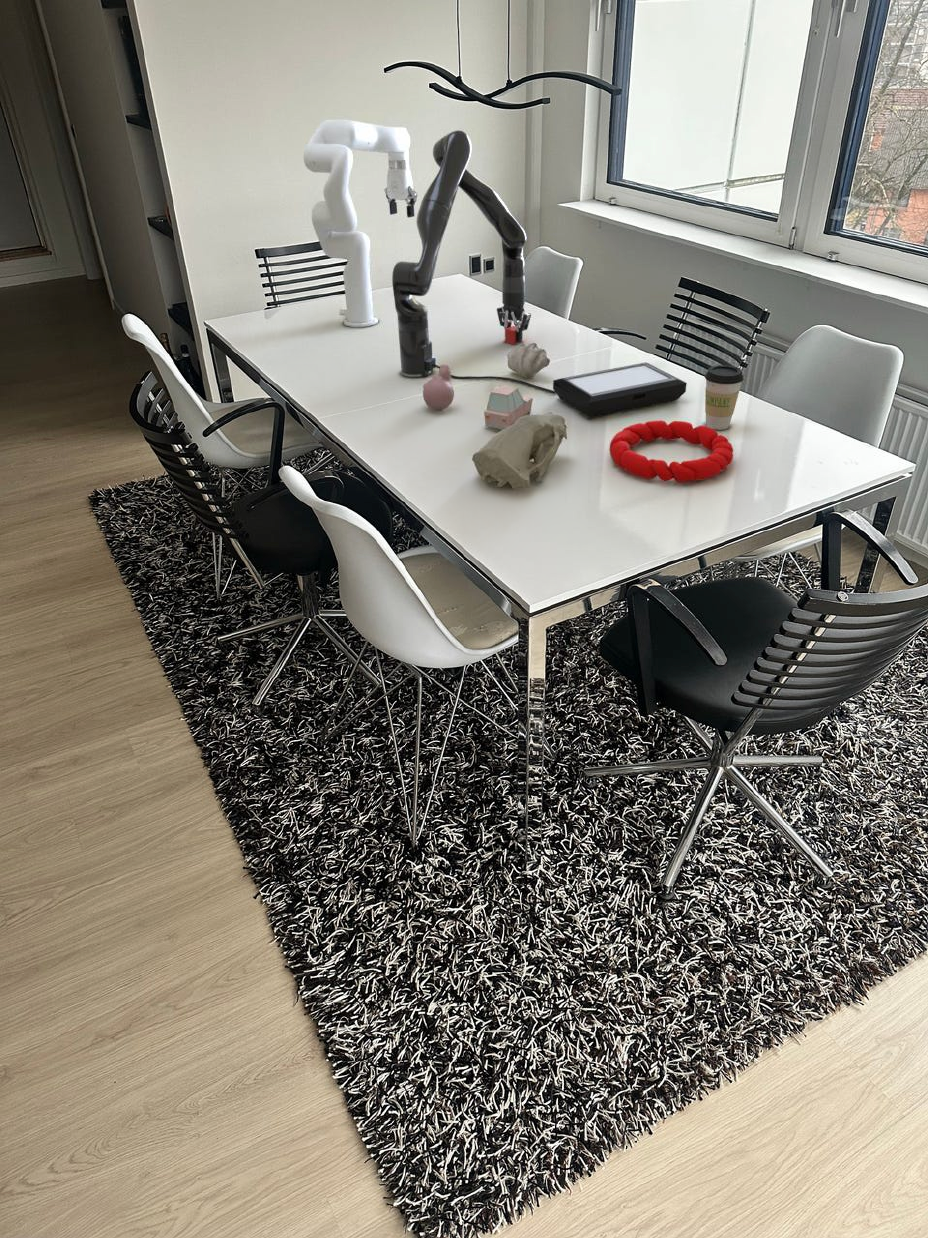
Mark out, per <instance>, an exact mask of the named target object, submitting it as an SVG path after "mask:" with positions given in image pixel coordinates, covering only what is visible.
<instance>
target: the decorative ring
mask: <svg viewBox="0 0 928 1238" xmlns="http://www.w3.org/2000/svg"><path fill="white" fill-rule="evenodd" d="M657 439H662V440H665V441H672V440H678V439H682V440H683V441H685V442H687V443H689V444H692V445H702V447H703V448H704V449H707V450H709V451H710V452H712V453H710V454H709V455H707V456H706V457H702V458H698V459H692V460H691V459H690V460H683V461H681V462H680V463H679V462H678V461H675V460H674V461H671V462H670V463H669V465H668V463H667V461H665V460H663V459H654V458H652V459H648V458H647V456H646V455H642V454H639V453H638V452H637V451H634V450H631V447H634V446H636V445H638V444H639V443H641V441H642V442H652V441H654V440H657ZM733 453H734V448H733V445H732V444H731V442H729V439H728V438H727V437H726V436H725V435H722V434H719V432H718V431H717V430H716V429H711V428H709V427H707V426H706V425H697V426H696V427H693V424H692V423H691V422H688V421H682V420H673V421H671V422H669V424H668V423H667V422H666V421H665V420H659V419H658V420H649V421H646V422H645V423H642V422H639V423H638V422H637V423H634V424H631V425H629V426H627V427H624V428H623V429H622V430H620V431H618V432H617V433H615V434H614V436H613V437H612V438H611V441H610V443H609V454H610V458H611V460H612V461H613V462H614V464H615V465H616V466H618V467H619V468H620V469H621V470H624V471H626V472H627V473H628V474H631V475H633V476H636V477H639V478H642V479H646V480H652V479H655V478H656V477H658V479H660V480H661V481H662V482H669V481H670V480H674V481H675V483H690V482H691V483H692V482H696V481H698V480H700V481H703V480H704V481H705V480H707V479H711V478H713V477H715V476H718V475H719V474H720V473H721V472H723V471H725V470H726V469H727V468H728V466H729V465H731V464H732V462H733V459H734V454H733Z"/></svg>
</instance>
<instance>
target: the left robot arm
mask: <svg viewBox="0 0 928 1238" xmlns="http://www.w3.org/2000/svg"><path fill="white" fill-rule="evenodd" d="M410 147H411V137H410V134H409V133H408V130H407V128H406V127H404V126H385V125H380V124H375V123H368V122H362V121H357V120H351V119H336V118H335V119H334V118H333V119H330V118H329V119H324V120H323V121H322V122H321V123H320V124H319V125H318V126H317V128H316V129H315V131H314V132H313V134H312V136H311V137H310V139H309V141H308V142H307V143H306V145H305V148H304V151H303V163H304V166H305V167H306V169H307V170H309V171H310V172H313V173H321V174H329V175H328V177H327V179H326V182H325V184H324V186H323V190H322V193H323V199H324V200H320V201H317V202H316V203H315V204H314V205H313V207H312V210H311V222H312V225H313V229H314V231H315V234H316V237H317V239H318V242H319V245H320V247H321V249H322V251H323V253H324V255H326V257H328V258H331V259H339V260H347V263H346V264H345V266H344V269H343V274H342V275H343V276H342V277H343V285H344V296H345V305H346V306H345V308H342V307H341V308H340V309H339V313H338V314H339V316H344V319H343V324H344V325H345V326H347V327H351V328H366V327H371V326H374V325H376V324H378V322H379V317H377V316H376V315H374V306H373V305H374V304H373V295H372V281H371V271H370V269H371V268H370V257H371V256H370V255H371V240H370V237H369V236H368V234H366V233H365V232H363V231H360V230H356V229H357V227H358V216H357V212H356V210H355V206H354V203H353V200H352V197H351V195H350V191H349V180H350V176H351V172H352V168H353V165H354V155H353V152H352V150H355V151H362V152H376V153H382V154H387V159H388V163H387V164H388V169H387V173H386V174H387V175H386V187H385V189H383V190H384V194H385V197H386V199H387V203H388V204H389V215H392V216H393V215H396V214H398V205H397V203H398V202H397V201H405V203H406V217H407V218H408V219H409V218H414V217H415V205H416V202H417V199H418V195H419V194H418V192H416V191H415V189H414V187H413V186H414V185H413V178H412V173H411V169H410V157H409V149H410ZM396 200H397V201H396Z"/></svg>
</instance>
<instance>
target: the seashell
mask: <svg viewBox="0 0 928 1238" xmlns="http://www.w3.org/2000/svg"><path fill="white" fill-rule="evenodd" d="M506 356H507V367H508V369H510V370H511V371H513V372H515V373H517V374H518V375H519V376H521V377H522V378H526V379H531V378H534V376H536V375H537V374H538V373H539V372H540V371H541V370H543V369H544V368H547V367H548V366H549V365H550V363H551V360H550V358H549V357H548V352H547V350H545V348H544V349H543V348H541V347H540V346H539V345H538V344H537V343H536V342H533V343H530V344H526V343H521V344H519V345H518V346H515V347H513V348H511V350H510V351H508V353H507V355H506Z"/></svg>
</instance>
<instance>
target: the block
mask: <svg viewBox="0 0 928 1238" xmlns="http://www.w3.org/2000/svg"><path fill="white" fill-rule="evenodd" d="M516 332H517V331H516V327H515V325H511V327H509V328H506V329H504V343H505V344H510V345H513V346H514V345H517V344H518V343H516ZM522 342H523V340H522V341H521V342H520V343H522Z"/></svg>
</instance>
